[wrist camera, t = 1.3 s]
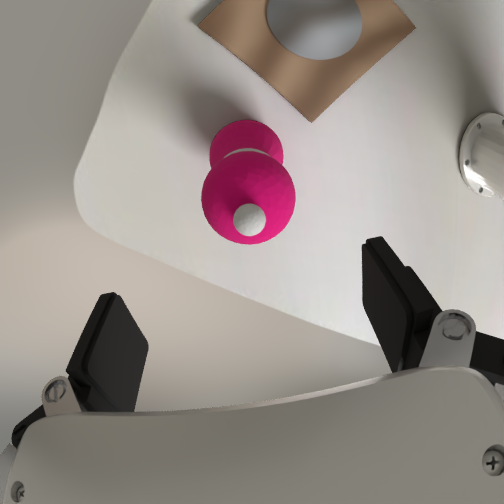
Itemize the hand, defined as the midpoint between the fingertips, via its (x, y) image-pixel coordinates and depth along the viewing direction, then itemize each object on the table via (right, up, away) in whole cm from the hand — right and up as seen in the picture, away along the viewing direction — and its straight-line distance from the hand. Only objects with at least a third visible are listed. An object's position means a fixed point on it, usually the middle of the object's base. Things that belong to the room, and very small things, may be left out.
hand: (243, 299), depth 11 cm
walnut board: (+7, +26, +14) cm, 31 cm away
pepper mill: (0, +13, +22) cm, 26 cm away
